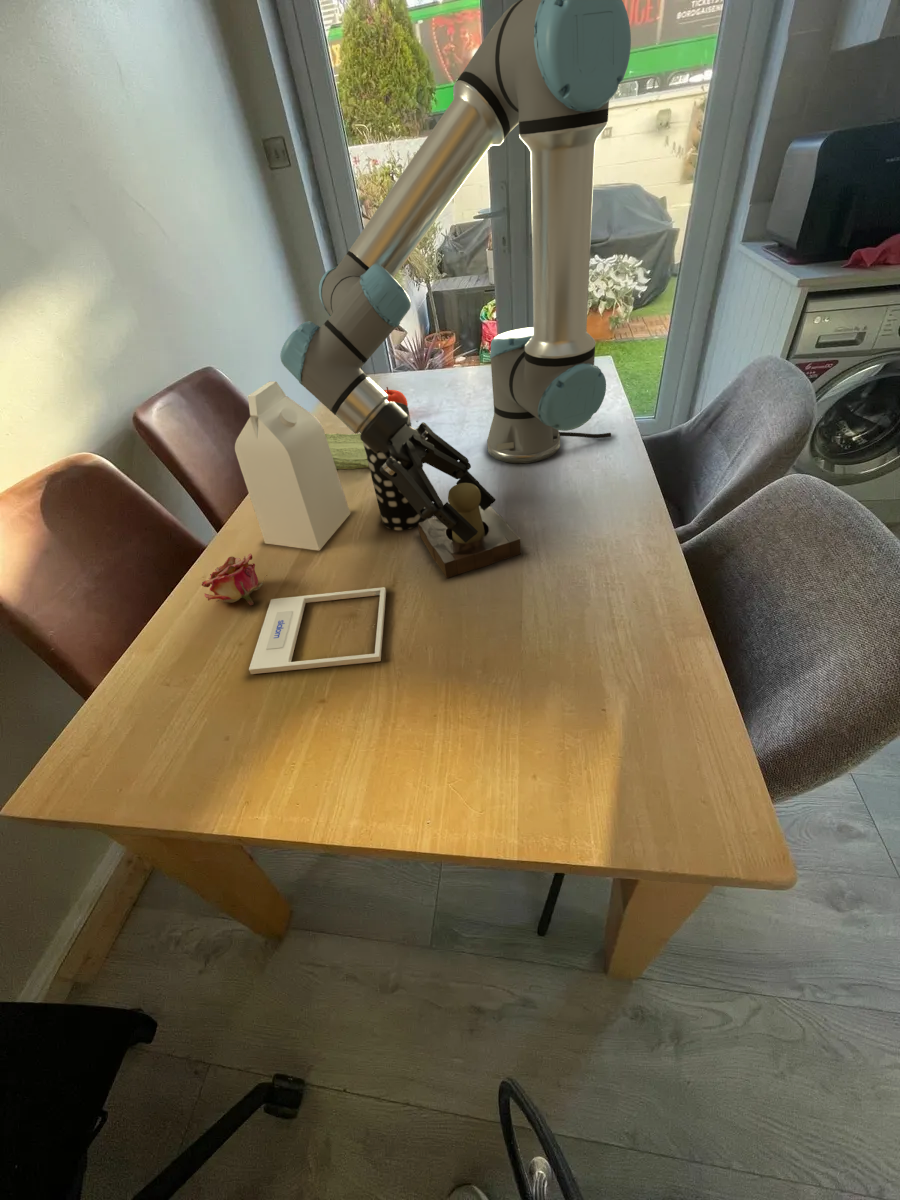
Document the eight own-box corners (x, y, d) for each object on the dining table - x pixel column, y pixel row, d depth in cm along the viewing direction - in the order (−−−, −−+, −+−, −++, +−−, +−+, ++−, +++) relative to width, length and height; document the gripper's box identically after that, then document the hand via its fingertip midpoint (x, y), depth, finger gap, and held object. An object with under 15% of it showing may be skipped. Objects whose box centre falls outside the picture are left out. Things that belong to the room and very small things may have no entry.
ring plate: (488, 515, 99) (487, 500, 97) (522, 554, 89) (521, 539, 87) (419, 536, 96) (416, 522, 94) (446, 579, 87) (443, 564, 85)
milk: (299, 507, 108) (254, 373, 91) (350, 513, 105) (313, 374, 88) (265, 543, 100) (208, 403, 83) (319, 550, 96) (271, 405, 79)
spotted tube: (420, 531, 98) (400, 424, 84) (376, 529, 100) (349, 425, 86) (431, 505, 103) (414, 401, 90) (389, 504, 105) (366, 402, 92)
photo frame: (270, 598, 86) (384, 586, 85) (273, 603, 87) (386, 591, 86) (248, 668, 75) (378, 655, 74) (250, 674, 76) (380, 661, 75)
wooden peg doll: (450, 536, 95) (442, 480, 88) (485, 532, 95) (480, 475, 88) (453, 557, 91) (445, 500, 83) (489, 552, 91) (484, 494, 83)
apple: (370, 424, 135) (363, 391, 130) (389, 411, 140) (384, 379, 135) (396, 428, 131) (390, 395, 126) (415, 415, 136) (410, 382, 131)
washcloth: (374, 471, 116) (371, 457, 114) (298, 470, 120) (294, 457, 118) (391, 442, 126) (389, 429, 124) (321, 443, 130) (317, 430, 128)
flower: (286, 582, 88) (256, 540, 86) (244, 610, 80) (210, 565, 79) (254, 602, 93) (226, 563, 92) (213, 630, 86) (181, 588, 85)
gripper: (391, 406, 92) (486, 499, 98) (327, 465, 78) (443, 571, 83) (416, 374, 87) (515, 474, 93) (352, 432, 72) (474, 547, 78)
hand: (481, 520), depth 88 cm, fingers open, 9 cm apart
